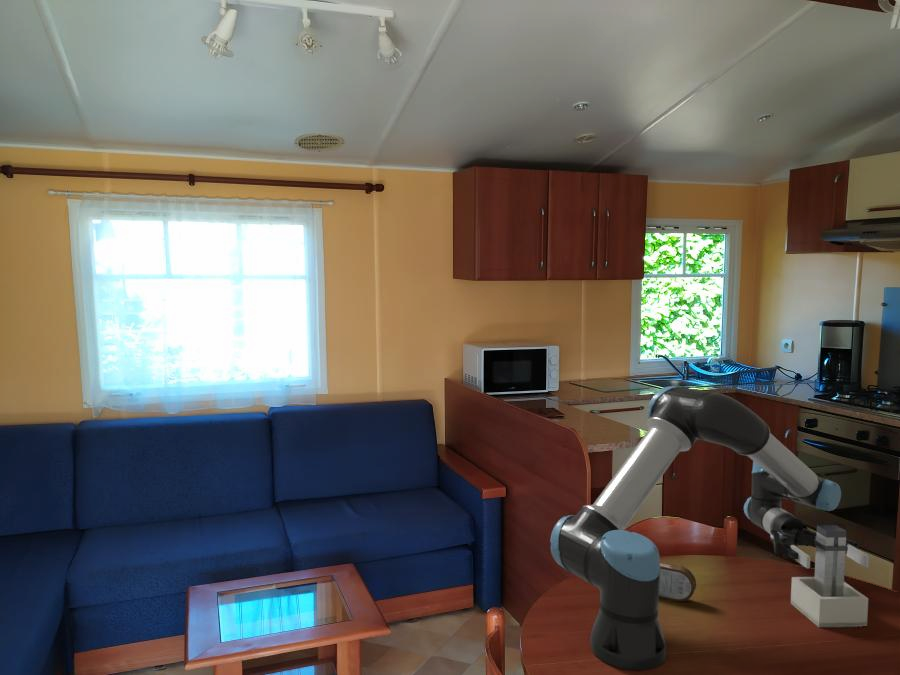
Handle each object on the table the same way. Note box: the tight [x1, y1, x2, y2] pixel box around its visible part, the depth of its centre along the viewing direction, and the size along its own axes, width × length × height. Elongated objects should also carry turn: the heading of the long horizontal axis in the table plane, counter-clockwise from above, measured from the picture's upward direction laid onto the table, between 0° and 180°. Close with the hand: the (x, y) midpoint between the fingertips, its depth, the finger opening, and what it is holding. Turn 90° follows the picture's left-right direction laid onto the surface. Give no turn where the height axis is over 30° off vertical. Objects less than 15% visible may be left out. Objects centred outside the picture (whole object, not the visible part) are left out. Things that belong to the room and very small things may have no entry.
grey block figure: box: [813, 524, 848, 597], centre depth 148 cm, size 5×5×20 cm
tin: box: [659, 560, 697, 602], centre depth 157 cm, size 15×3×8 cm, turn 63°
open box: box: [790, 576, 869, 628], centre depth 148 cm, size 11×11×6 cm
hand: (838, 562), depth 145 cm, fingers open, 13 cm apart
